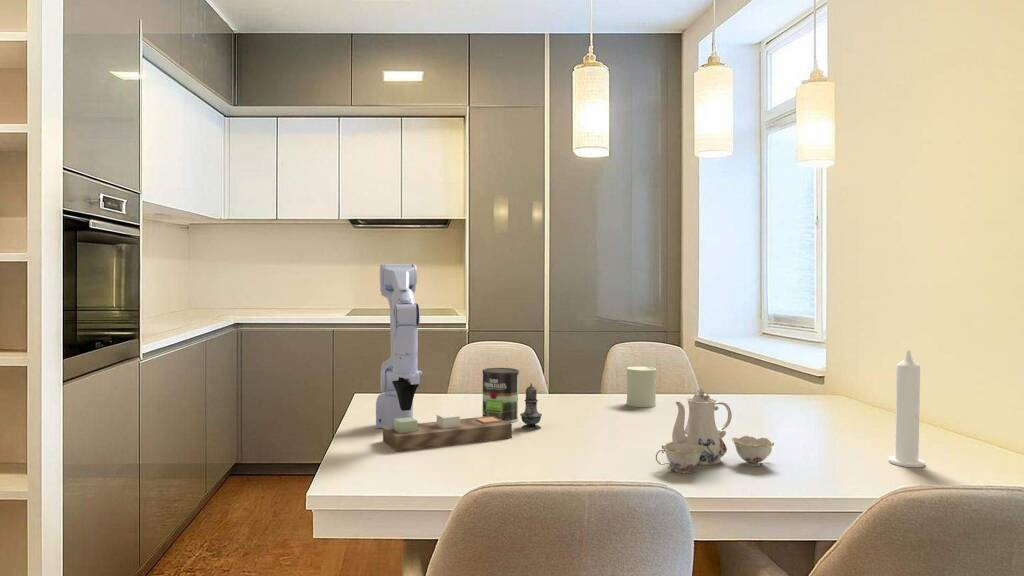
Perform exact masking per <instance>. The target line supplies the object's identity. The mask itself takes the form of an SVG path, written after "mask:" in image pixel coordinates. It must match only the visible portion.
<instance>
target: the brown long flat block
mask: <svg viewBox="0 0 1024 576" xmlns="http://www.w3.org/2000/svg"><path fill="white" fill-rule="evenodd" d="M489 417H493V418H495V419H498V420H500V422H499V423H490V424H482V423H479V422H477V419H480V418H489ZM512 429H513V424H512V423H508V422H506V421H504V420H502V419H499V418H497V417H495V416H486V417H483V416H477V417H476V416H475V417H469V418H468V417H467V418H460V427H453V428H444V429H442V428H440V427H438V426H437V421H431V422H418V424H417V432H407V433H397V432H396V431H394V426H389V427H383V428H382V441H383V443H385V444H386V445H387V446H388V447H390V448H392V449H393V450H394V451H396V452H399V453H400V452H403V451H405V452H407V451H414V450H415V451H416V450H422V449H430V448H438V447H446V446H447V447H449V446H455V445H462V444H463V445H464V444H472V443H479V442H489V441H496V440H504V439H512V438H513V430H512Z"/></svg>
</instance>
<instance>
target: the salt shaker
mask: <svg viewBox="0 0 1024 576" xmlns="http://www.w3.org/2000/svg"><path fill="white" fill-rule="evenodd" d="M523 401H524V402H525V409H524V412H521V413H520V415H519V416H520V417H521V421H522V422H523V423H524V425H522V426H521V430H524V431H525V430H526V431H537V430H541V429H542V427H541V426H540V425H539V424H538V423H540V421H541V419H542V416H543V414H542V413H540V412H539V411H538V404H537V403H538V401H539V400H538V399H537V387H535V386H533V384H532V383H530V384H529V386H528V387H526V388H525V399H524V400H523Z"/></svg>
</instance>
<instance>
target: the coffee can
mask: <svg viewBox="0 0 1024 576" xmlns="http://www.w3.org/2000/svg"><path fill="white" fill-rule="evenodd" d="M519 374H520V371H519V369H516V368H512V367H511V368H510V367H489V368H484V369H482V417H486V416H495V417H497V418H499V419H502V420H504V421H506V422H508V423H511V424H512V423H516V422H518V421H519Z"/></svg>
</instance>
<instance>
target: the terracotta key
mask: <svg viewBox="0 0 1024 576" xmlns="http://www.w3.org/2000/svg"><path fill="white" fill-rule="evenodd" d="M477 422H479V423H482V424H490V423H499V422H500V420H498V419H495V418H493V417H489V418H480V419H477Z"/></svg>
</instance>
